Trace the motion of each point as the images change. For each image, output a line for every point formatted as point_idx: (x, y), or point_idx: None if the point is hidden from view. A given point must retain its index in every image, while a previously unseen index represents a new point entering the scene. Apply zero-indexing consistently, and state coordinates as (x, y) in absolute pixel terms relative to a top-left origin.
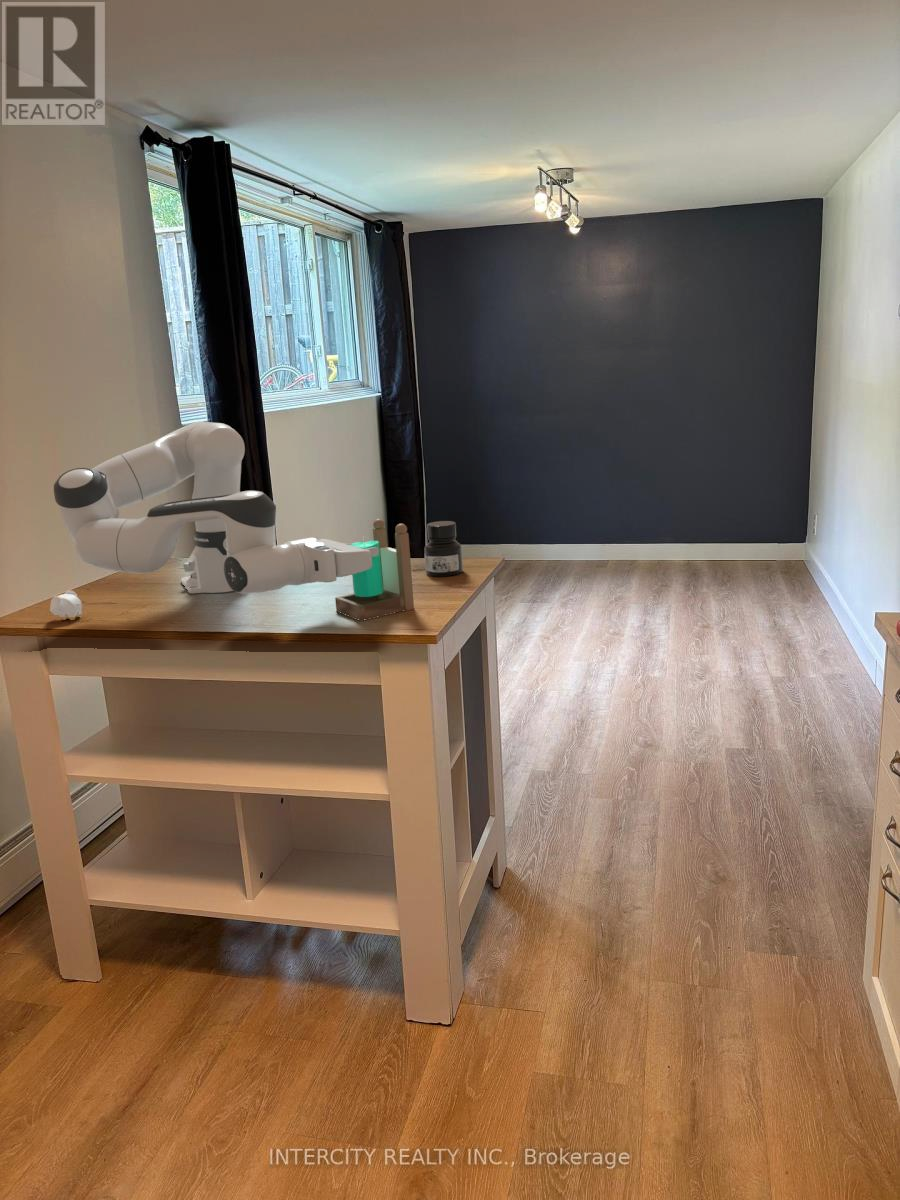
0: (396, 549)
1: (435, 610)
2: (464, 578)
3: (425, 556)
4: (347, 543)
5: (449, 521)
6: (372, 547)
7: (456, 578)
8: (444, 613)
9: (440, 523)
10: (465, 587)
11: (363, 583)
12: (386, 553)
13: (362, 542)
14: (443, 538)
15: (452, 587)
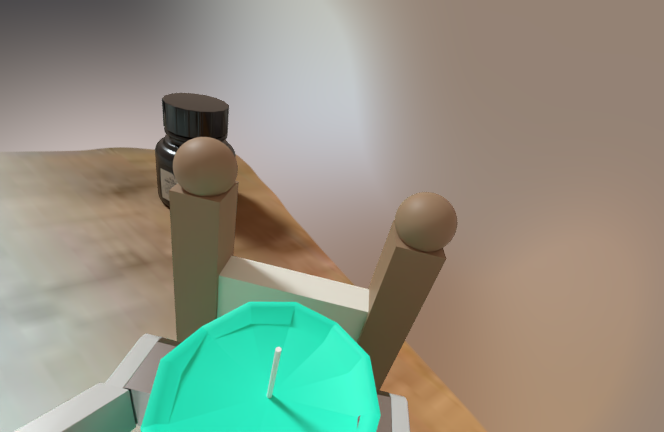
0: (376, 306)
1: (408, 399)
2: (259, 212)
3: (167, 174)
4: (64, 411)
5: (202, 95)
6: (392, 424)
7: (245, 214)
8: (450, 409)
9: (194, 101)
10: (306, 246)
11: None
12: (270, 301)
13: (194, 336)
14: (214, 137)
15: (283, 252)
